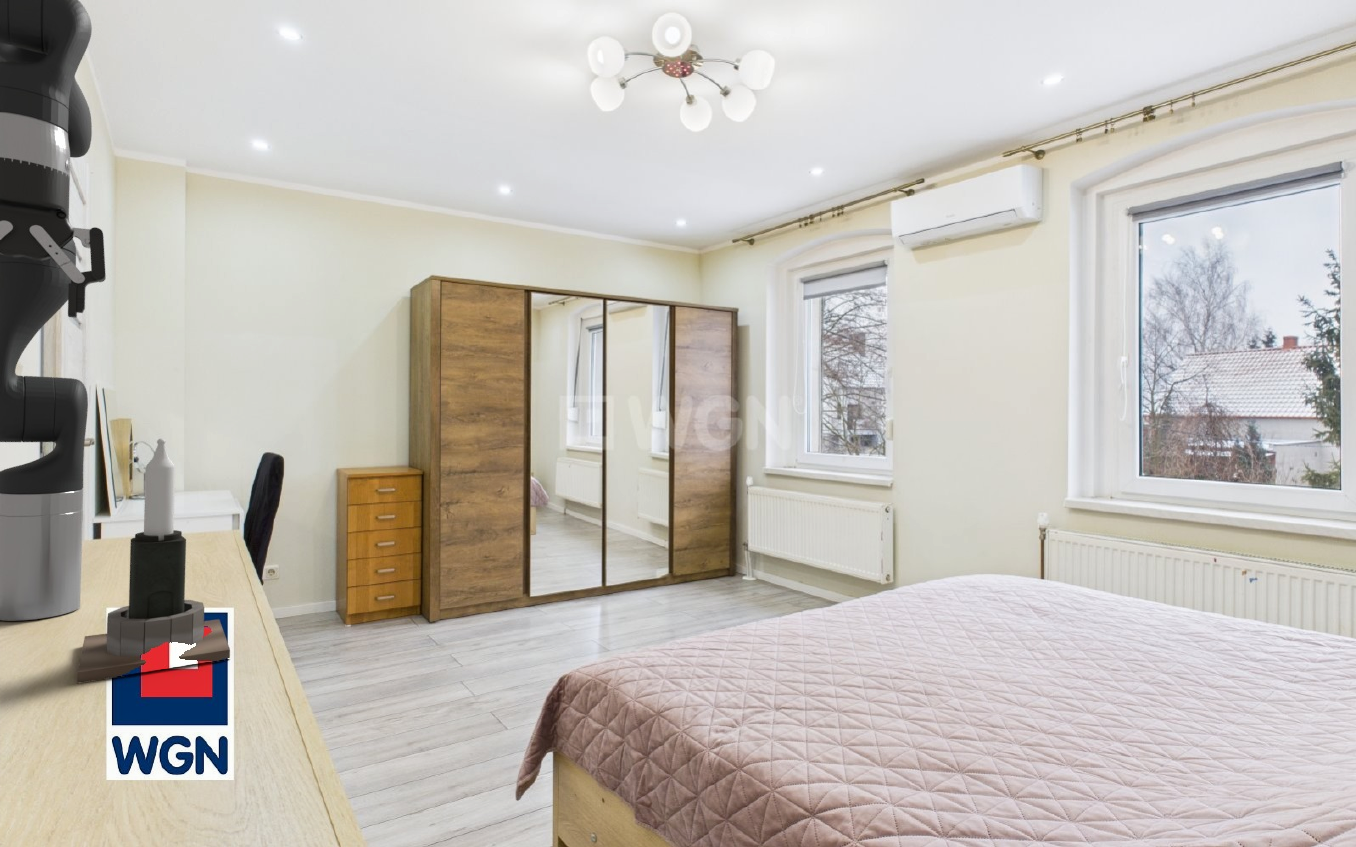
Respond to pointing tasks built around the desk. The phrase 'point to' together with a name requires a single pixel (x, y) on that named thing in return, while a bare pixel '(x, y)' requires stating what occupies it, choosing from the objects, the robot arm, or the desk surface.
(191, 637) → the holder
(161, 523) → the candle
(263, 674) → the desk surface
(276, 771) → the desk surface
